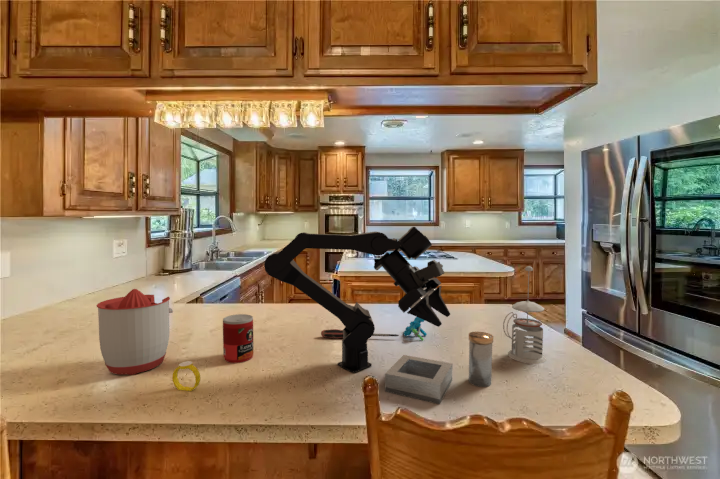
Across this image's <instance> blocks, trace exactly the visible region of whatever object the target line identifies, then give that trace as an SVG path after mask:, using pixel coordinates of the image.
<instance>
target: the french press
mask: <svg viewBox="0 0 720 479" xmlns="http://www.w3.org/2000/svg"><path fill="white" fill-rule="evenodd" d="M533 270H534V268H533V267H532V266H530V265H528V266H526V267H525V268H524V271H527V272H528V275H527V276H528V277H527V278H528V279H527V280H528V281H527V297H529V292H530V291H529V290H530V272H533ZM511 308H512V309H513V310H516V311H519V312H525V313H526V314H527V315H526V318H525V317H518V314H517V313H514V312H513V311H512V312H509V313H507V315H506V316H505V318H504V320H503V323H502V328H503V332H504V334H505V336H506V337H508V338H509V339H511V349H510V350H509V351H507V354H506V355H507V356H508V357H509V358H510V359H513V361H514V360H515V361H516V362H520V363H523V364H524V363H525V364H531V365H533V364H537V365H538V364H543V363H546V362H547V358H546V356H544V354H543V346H544V345H543V343H544V340H543V339H544V328H543V323H542V322H541V321H540V320H536V319H532V318H529V313H541V312H544V311H545V307H543V306H542V305H541V304H538V303H536V302H535V301H530V300H525V301H524V300H523V301H517V302H515V303H514V304H512V305H511ZM511 314H512V315H511ZM509 315H510V317H509V318H508V316H509ZM512 317H513V318H514V319H513V321H512V322H513V324H512V325H511V336H510V333H509V331H508V329H509V328H508V327H509V322H510V320H511V319H512ZM507 318H508V320H507V323H506V319H507ZM505 323H506V330H505ZM518 328H519V329H518ZM531 346H532V347H531Z"/></svg>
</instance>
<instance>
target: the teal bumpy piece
mask: <svg viewBox="0 0 720 479" xmlns="http://www.w3.org/2000/svg"><path fill="white" fill-rule="evenodd" d="M424 322H426V321H425V320H423V319H421V318H418V317H416V316H415V317H414V319H413V320H412V321H410V323H409V326H406V327H405V329H404V331H403V336H405V337H407V336H410V335H412V333H413V335H414V336H415V337H418V338H419V339H420V340H421V341H425V340H424V338H423V337H422V336H421V335H420V333H421V334H422V335H423V336H424V337H426V336H427V335H428V334H427V333H426V332H425V331H424V329H422V328H421V327H422V326H421V325H422V324H421V323H424Z"/></svg>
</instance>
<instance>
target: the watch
mask: <svg viewBox="0 0 720 479" xmlns="http://www.w3.org/2000/svg"><path fill="white" fill-rule="evenodd" d="M193 362H194V361H190V360H189V361H187V360H186V361H183V362H180V363H179V364H178V366H177V367H176V368H175V369H174V370H173V372H172V374H171V375H172V383H173V386H174V387H175V388H176V389H177V391H184V392H192V391H194V390H195V389H196V388H197V387H198V386H200V382H201V372H200V370H199V369H198V368H197V367H196V366H195V365H194V363H193ZM186 369H187V370H188V369H189V370H190V371H192V373H193V375H194V379H195V383H194V385H193V387H192V386H184V385H182V383H180V380H179V378H178V374H179V370H186Z"/></svg>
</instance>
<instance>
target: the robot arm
mask: <svg viewBox="0 0 720 479" xmlns="http://www.w3.org/2000/svg"><path fill="white" fill-rule="evenodd" d="M430 247H432V242H431V241H430V239H429V238H428V237H427V236H426V235H425V234H423V233H422V232H421V231H420V230H419V229H417V227H416V226H412V227H410V228H409V229H408V231H407V232H406V233H405V234H403V235H402V236H401V237H400V238H399V239H397V238H389V237H388V236H387V235H386V234H385V233H383V232H380V231H370V232H362V233H359V234H358V233H356V234H333V233H332V234H331V233H329V234H328V233H309V232H300V233H297V234H296V236H295V237H294V239H292V240H291V241H290V242H289V243H288V244H287V245H285V246H284V247H283V248H282V249H281V250H280V251H276V252H273V253H271V254H270V255H268V256H267V257H266V259H265V261H264V270H265V273H266V274H267V275H268V276H270V277H272V278H274V279H276V280H278V281H280V282H282V283H285V284H288V285H291V286H294V287H295V288H296V289H298V290H299V291H300V292H302V293H303V294H304V295H306V296H307V297H309V298H310V299H311V300H313V301H314V302H315V303H317V304H318V305H320V306H321V307H322V308H324V309H325V310H327V312H330V314H332V315H333V316H335V317H336V318H337V319H338V320H340V322H341V323H342V325H344V328H343V329H342V330H343V338H342V339H343V340H341V351H342V352H341V357H342V358H341V360H342V361H339V362H337V366H339V367H340V368H343V369H345V370H347V371H349V372H350V373H356V372H359V371H362V370H364V369H367V368H370V367H372V363H371V362H369V361H368V360H369V355H368V354H369V350H368V343H367V342H368V340H369V339H371V338H372V337H373V336H372V335H373V334H375V329H376V327H375V324H374V321H373V319H372V316H371V314H370V312H369V311H370V310H368V309H365V308H364V307H363V306H361V305H360V304H359V303H358V302H357V301H356V302H355V304H354V305H351V304H348V303H346V302H345V301H343V300H342V299H341V298H340V297H338V296H336V294H334V293H333V292H332V291H330V290H328V289H327V288H326V287H324V286H323V285H322V284H321V283H319V282H318V281H316V280H315V279H313V278H312V277H311V276H309V275H308V274H306V273H305V272H304V271H303V270H302V268H301V267H300V266H299V265H298V264H297V262H296V261H295V258H296V257H298V256H299V255H300V254H301V253H302V252H304V251H305V250H307V249H313V250H314V249H318V250H319V249H320V250H341V251H342V250H344V251H345V250H347V251H356V252H359V253H363V254H369V255H373V256H381V257H380V258H373V261H374V266H373V268H374V270H375V271H379V270H380V269H381V268H382V269H384V270H385V271H386V273H387V274H388V275H389V276H390V278H392V279H393V280H394V282H393V285H394V286H395V287H399V288H400V289H401V290H402V291H403V293H405V294H404V295H403V296H402V297H401V298H400V299H399V300H398V305H397V306H398V308H399V310H401V311H402V313H403V314H405V313H407V314H408V315H412V316H414V317H415V318H416V317H418V318H421V319H423V320H425V321H424V322H427V323H430V324H431V325H432V326H433V325H434V326H435V327H438V328H439V327H440V326H442V325H443V324H442V323H443V322H442V321H441V320H440V318H439V316H438V315H437V313H436V312H438V313H440V314H441V315H443V316H445V317H446V318H448V317H450V315H451V312H450V310H449V309H448V307H447V305H446V302H445V301H444V299H443V296H442V294H441V292H442V285H441V284H442V282H441V281H440V280H439V279H438V278H439V277H441V276H442V275H444V274H445V271H444V268H443V267H444V265H443V264H442V263H441V262H440V261H436V259H433V260H430V261H428V262H427V265H426V266H425V267H423V268H419V267H418V266H416V265H414V266H412V265H411V263H410V262H408V260H411V259H413V260H417V259H418V258H419V257H420V256H421V255H423V254H424V253H425V252H426V251H427V250H428V249H430ZM392 250H393V251H392ZM388 251H391V252H390V253H389V252H388ZM400 251H401V252H402V254H403V255H404V256H405V257H406V258H407V259H408V260H407V259H406V258H405V257H404V256H403V255H402V254H401V253H400ZM435 311H436V312H435Z"/></svg>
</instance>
